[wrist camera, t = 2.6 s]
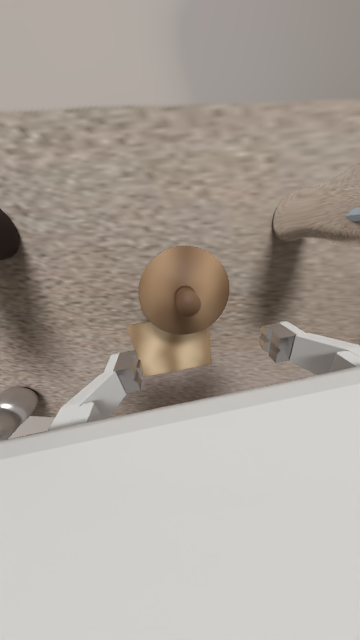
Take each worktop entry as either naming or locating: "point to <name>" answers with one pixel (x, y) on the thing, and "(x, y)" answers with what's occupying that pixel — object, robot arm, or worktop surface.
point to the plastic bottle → (15, 409)
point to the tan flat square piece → (169, 348)
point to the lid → (183, 290)
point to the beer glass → (322, 211)
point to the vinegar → (7, 237)
